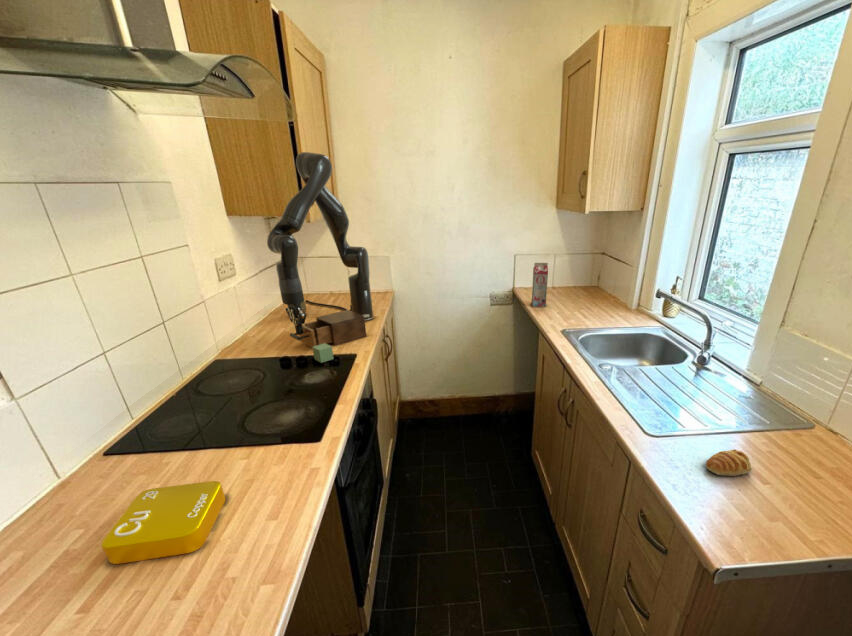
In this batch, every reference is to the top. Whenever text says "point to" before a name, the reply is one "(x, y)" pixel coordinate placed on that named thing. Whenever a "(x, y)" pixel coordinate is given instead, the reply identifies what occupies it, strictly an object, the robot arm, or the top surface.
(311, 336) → the drawer
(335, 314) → the cabinet
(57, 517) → the top surface
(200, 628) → the top surface
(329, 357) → the block
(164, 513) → the element tile
